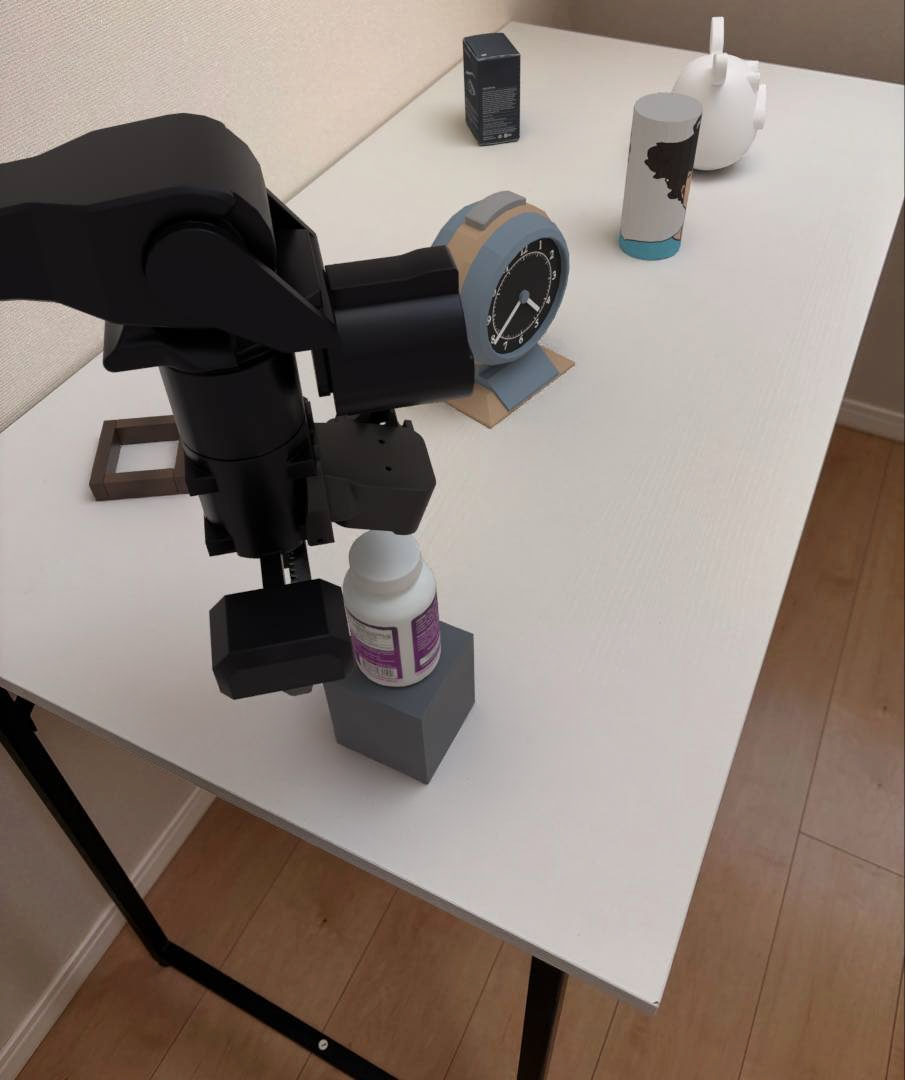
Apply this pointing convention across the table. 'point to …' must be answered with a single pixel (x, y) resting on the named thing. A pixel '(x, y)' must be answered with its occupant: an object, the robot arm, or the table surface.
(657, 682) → the table surface
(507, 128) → the box
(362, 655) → the pill bottle
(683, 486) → the table surface
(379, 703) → the block
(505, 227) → the alarm clock
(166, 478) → the holder
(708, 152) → the piggy bank
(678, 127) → the white cylinder
